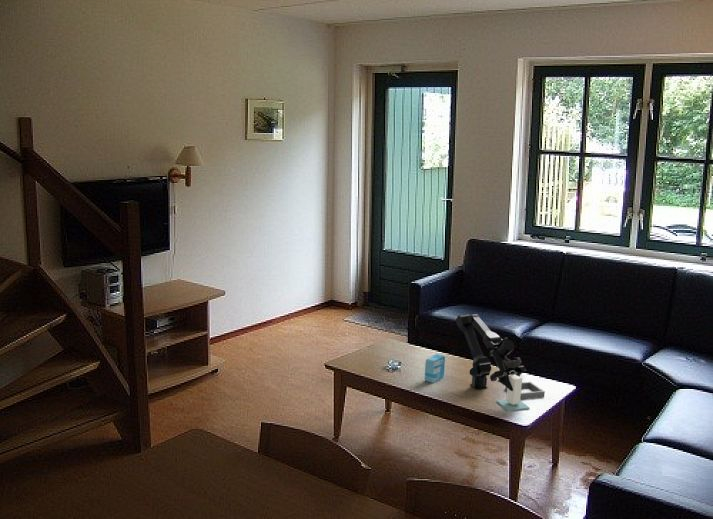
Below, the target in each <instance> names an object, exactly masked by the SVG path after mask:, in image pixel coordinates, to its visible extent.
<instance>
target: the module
mask: <svg viewBox="0 0 713 519" xmlns="http://www.w3.org/2000/svg"><path fill="white" fill-rule="evenodd" d="M509 381H510V383H511V385H512V388H513V391H511V390H509V389H508V388H507V390H506V398H505V400H506V402H508V403H510V404H512V405H514V404H518V403H520V401H521V399H520V397H521V393H522V388H521V386H522V383H523V377H522V376H520V377H519V376H517V375H509Z"/></svg>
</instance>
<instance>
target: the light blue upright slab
mask: <svg viewBox="0 0 713 519" xmlns="http://www.w3.org/2000/svg"><path fill="white" fill-rule="evenodd" d="M445 364H446V357H445V355H441V354H434V355H431V356H430V357H428V358H426V360H425V365H424V381H425V382H428V383H431V384H434V383H437V381H440V380H441V379H443V378H444V377H445V366H446V365H445Z"/></svg>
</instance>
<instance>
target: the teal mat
mask: <svg viewBox="0 0 713 519" xmlns="http://www.w3.org/2000/svg"><path fill="white" fill-rule="evenodd" d="M496 403H497V404H499V406H501V407H502V408H503V409H504V410H506V411H507V412H515V411H525V410H530V406H528V405H527V404H526V403H525V402H523V401H521V400H520V403H518V404H514V405H512V404H510V403H508V402H506V399H497V400H496Z"/></svg>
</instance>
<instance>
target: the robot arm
mask: <svg viewBox="0 0 713 519" xmlns="http://www.w3.org/2000/svg"><path fill="white" fill-rule="evenodd" d="M455 322H456V326H457V327H458V330H460V331H461V332H462V333H463V334H464V338H465V339H466V342H467V345H468V347H469V349H470V350H469V351H470V353H471V356H472V359H473V360H472V364H471V365H472V367H471V368H470V369H469V375H470V376H471V383H470V384H469V385H470V386H471V387H473V388H474V389H475V390H482V389H483V390H484V389H488V387H487V385H488V384H487V382H488V378H487V376H489V379H490V381H491V382H498V383H499V384H501V385H503V386H505V388H506V387H507V388H508V389H509V390H511V391H513V388H512V385H511V383H510V381H509V376H511V375H517V376H519V377H521V375H522V374H523V373H525V372H526V371H527V369H526V367H525V365H523V364H522V363H523V362H522V360H521V357H520V356H519V357H514V360H512V359H511V358H508V357H507V356H508V355H509V354H511V352H513V351H514V350H515V346H516V345H515V343H514V342H513V341H512V340H511V339H509V338H508V337H505V338H502V337H501V336H500V335H499V334H497V333H496V332H494V331H492V330H491V329H490V328H489V327H488V326H487V324H486V323H485V322H484V321H483V320H482V319H481V318H480V315H479V314H477V313H474V314H461V315H457V317H456V318H455ZM474 328H475V329H476V332H478V333H479V334H480V336H481V337H482V339H483V340H482V342H483V344H484V345H485V347H486V348H487V349H491V350H489V356H485V355H484V354H483V352H482V350H481V346H480V345H479V342H478V339H477V336H476V334H475V330H474ZM489 357H493V360H494V362H495V367H496V368H498V370H496V371H494V372H493V373H492V374H490V373H491V371H492V365H491V364H492V363H491V361H490V358H489ZM497 379H498V380H497Z"/></svg>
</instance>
